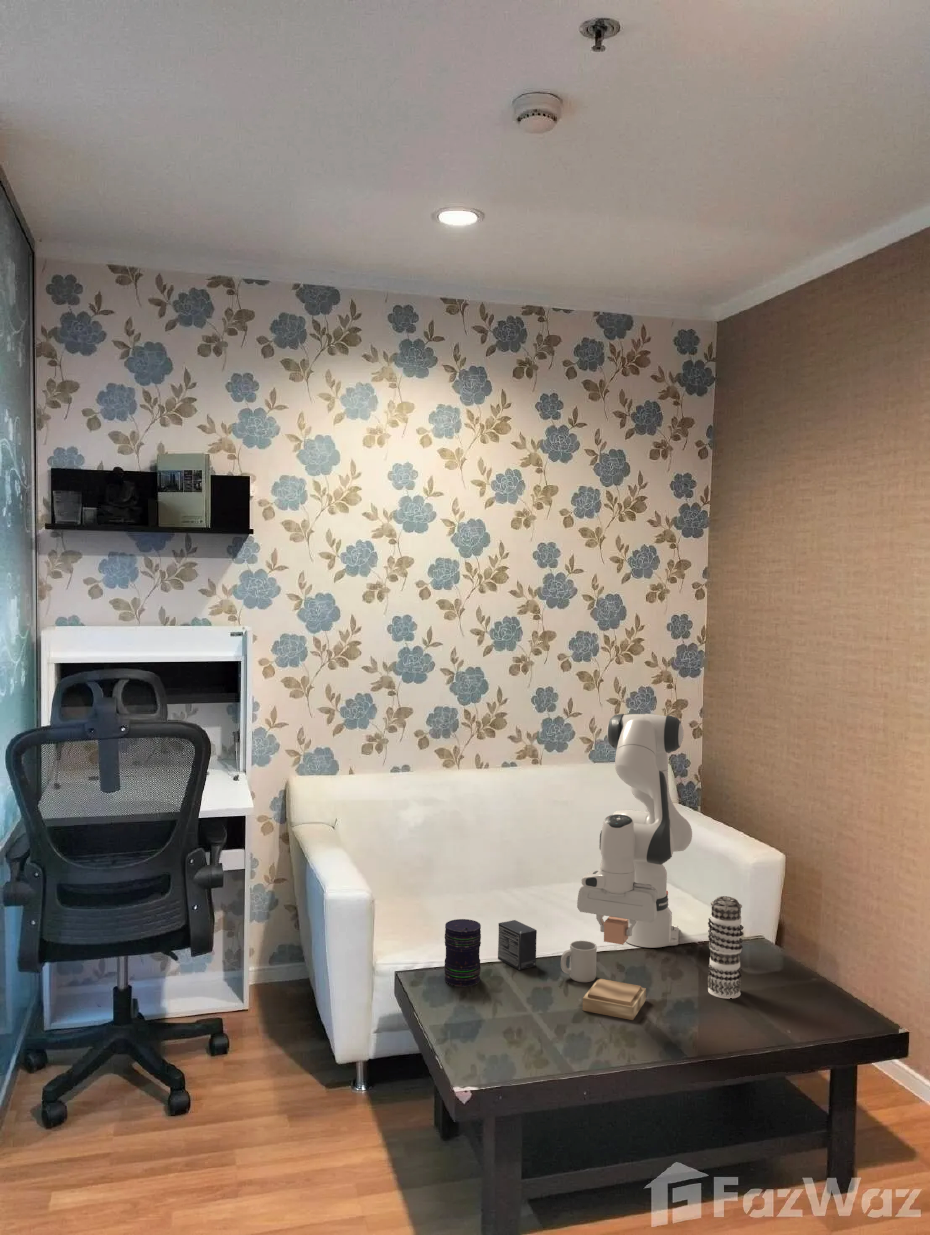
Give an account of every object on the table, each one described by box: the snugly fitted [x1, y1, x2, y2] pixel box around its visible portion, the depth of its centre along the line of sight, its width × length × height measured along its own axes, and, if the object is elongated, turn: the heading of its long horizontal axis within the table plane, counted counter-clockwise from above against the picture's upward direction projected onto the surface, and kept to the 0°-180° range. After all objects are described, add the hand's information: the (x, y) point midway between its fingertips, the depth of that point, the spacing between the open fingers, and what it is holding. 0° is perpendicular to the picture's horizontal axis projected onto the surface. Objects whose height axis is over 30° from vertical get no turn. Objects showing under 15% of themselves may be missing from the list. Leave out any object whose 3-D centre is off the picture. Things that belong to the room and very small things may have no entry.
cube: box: [603, 916, 629, 945], centre depth 257 cm, size 5×5×5 cm
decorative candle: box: [707, 895, 744, 1000], centre depth 267 cm, size 9×9×25 cm
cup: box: [560, 940, 598, 983], centre depth 275 cm, size 7×10×9 cm
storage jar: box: [443, 918, 482, 988], centre depth 273 cm, size 10×10×15 cm
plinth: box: [582, 978, 647, 1021], centre depth 258 cm, size 13×13×4 cm
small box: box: [497, 919, 538, 971], centre depth 286 cm, size 11×6×10 cm, turn 34°
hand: (616, 933), depth 257 cm, fingers closed on cube, 5 cm apart
